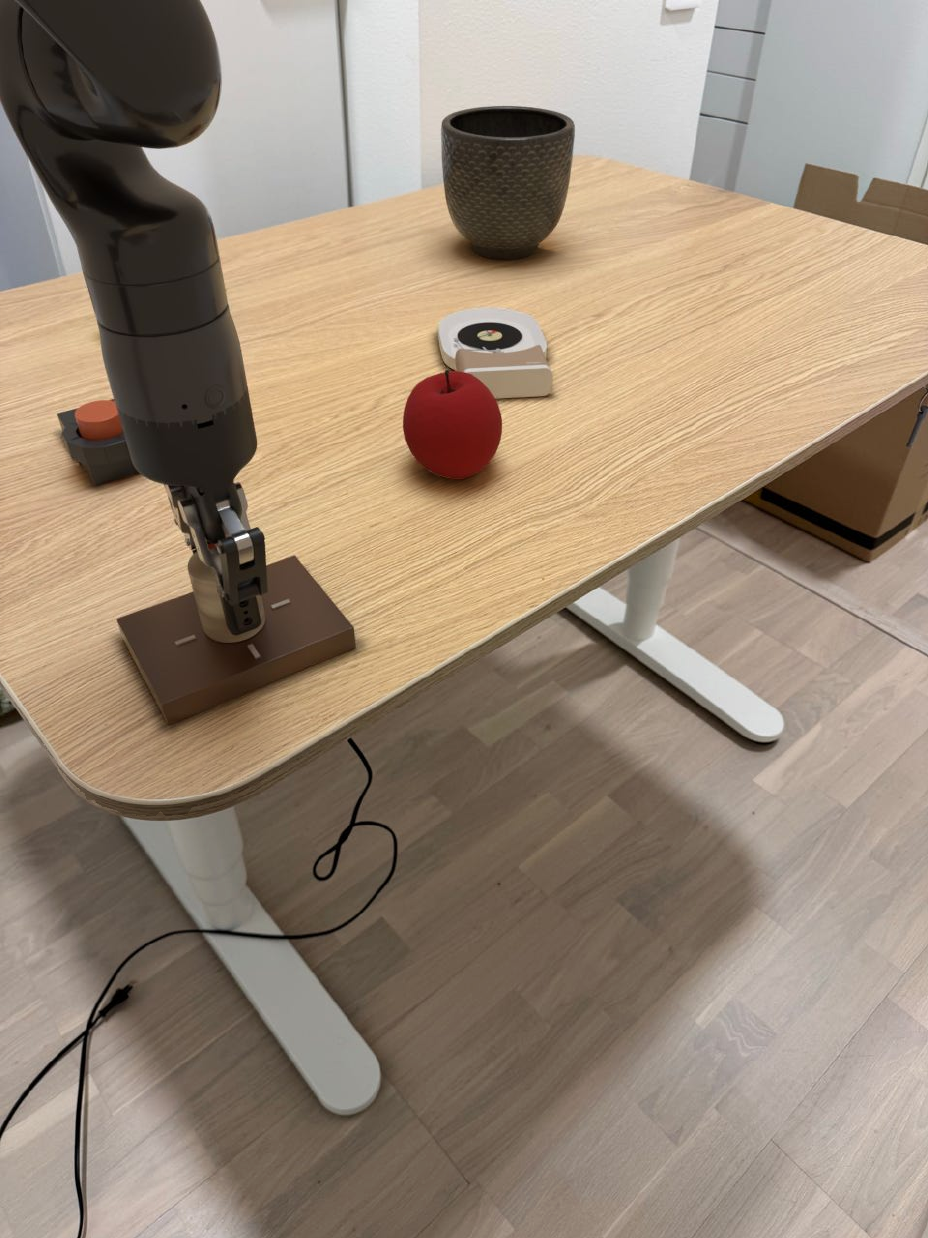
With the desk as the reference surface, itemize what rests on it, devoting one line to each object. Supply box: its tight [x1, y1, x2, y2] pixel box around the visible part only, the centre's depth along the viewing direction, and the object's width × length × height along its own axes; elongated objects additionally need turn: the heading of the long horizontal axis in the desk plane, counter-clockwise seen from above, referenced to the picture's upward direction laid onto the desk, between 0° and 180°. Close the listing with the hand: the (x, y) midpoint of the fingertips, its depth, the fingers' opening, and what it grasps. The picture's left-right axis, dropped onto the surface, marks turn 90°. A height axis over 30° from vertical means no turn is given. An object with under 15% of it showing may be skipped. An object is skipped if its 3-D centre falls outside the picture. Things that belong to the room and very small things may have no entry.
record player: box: [437, 306, 554, 400], centre depth 100 cm, size 12×3×20 cm
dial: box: [186, 543, 265, 643], centre depth 63 cm, size 4×4×6 cm
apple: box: [402, 369, 503, 480], centre depth 81 cm, size 9×9×10 cm
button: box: [75, 399, 123, 441], centre depth 81 cm, size 4×4×2 cm
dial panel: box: [115, 554, 357, 726], centre depth 65 cm, size 14×10×2 cm
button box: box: [56, 398, 140, 486], centre depth 85 cm, size 12×12×4 cm
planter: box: [440, 105, 576, 261], centre depth 121 cm, size 17×17×16 cm
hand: (231, 607), depth 64 cm, fingers closed on dial, 4 cm apart
